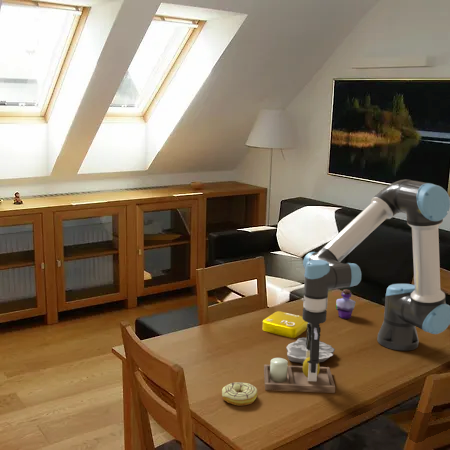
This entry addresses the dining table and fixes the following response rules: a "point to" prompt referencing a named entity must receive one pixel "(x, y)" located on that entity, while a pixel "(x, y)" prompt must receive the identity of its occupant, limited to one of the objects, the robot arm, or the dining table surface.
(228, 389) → the decorated donut
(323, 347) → the brain slice
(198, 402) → the dining table surface
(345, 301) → the potion bottle
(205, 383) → the dining table surface
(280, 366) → the white capsule pill
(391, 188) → the robot arm
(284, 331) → the element tile
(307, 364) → the lemon
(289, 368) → the organizer
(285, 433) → the dining table surface
